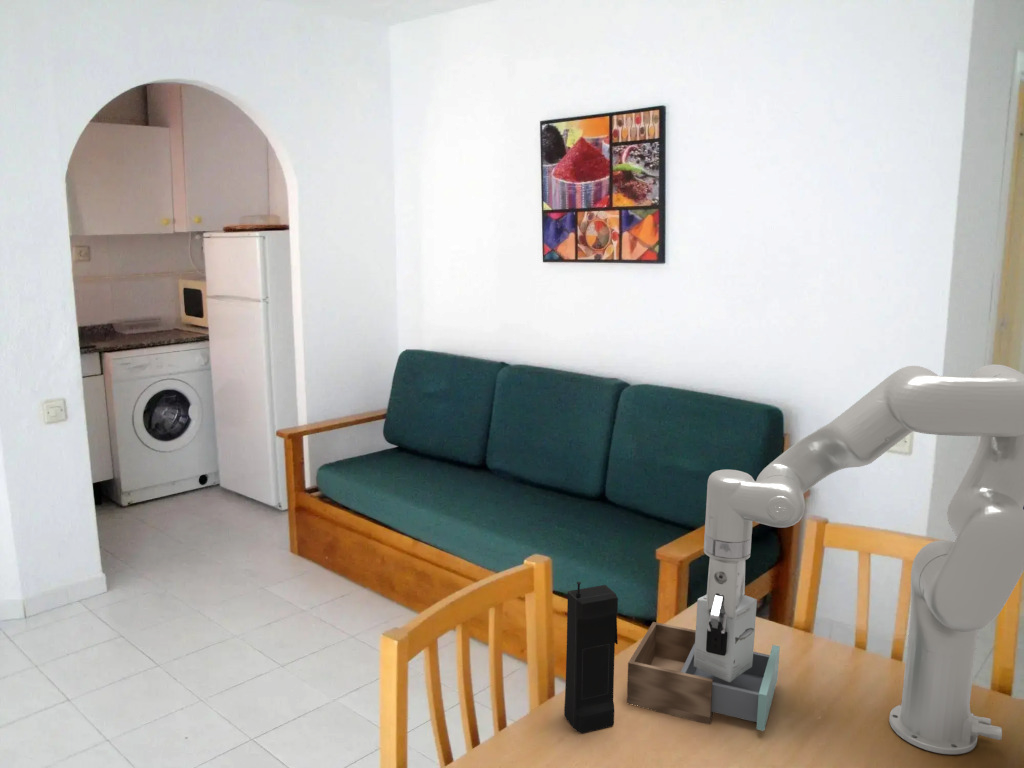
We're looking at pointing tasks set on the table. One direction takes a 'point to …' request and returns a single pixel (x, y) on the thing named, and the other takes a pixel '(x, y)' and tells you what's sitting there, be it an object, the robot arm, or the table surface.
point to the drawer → (744, 688)
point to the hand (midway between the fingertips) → (721, 640)
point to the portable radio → (590, 658)
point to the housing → (668, 675)
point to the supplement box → (737, 640)
